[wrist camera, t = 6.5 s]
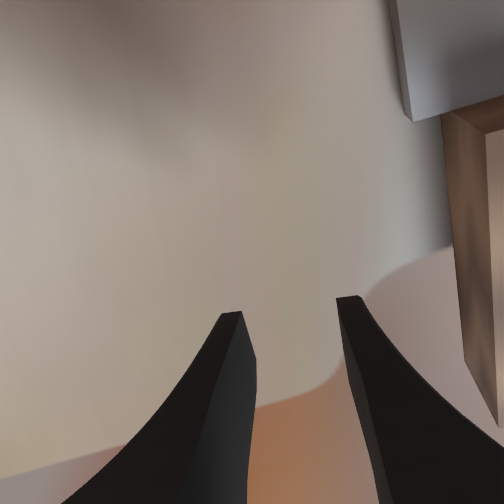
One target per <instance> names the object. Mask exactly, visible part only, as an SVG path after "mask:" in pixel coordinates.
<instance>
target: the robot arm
mask: <svg viewBox="0 0 504 504" xmlns="http://www.w3.org/2000/svg"><path fill="white" fill-rule="evenodd" d="M336 302H337V309H338V316H339V323H340V330H341V336H342V343H343V350H344V356H345V362H346V368H347V373H348V379H349V384H350V387H351V391H352V395H353V398H354V402H355V406H356V409H357V412H358V416H359V420H360V424H361V427H362V431H363V434H364V438H365V441H366V445H367V449H368V452H369V456H370V460H371V464H372V469H373V473H374V478H375V484H376V489H377V494H378V500H379V504H504V447H503V446H501V445H500V444H498V443H497V442H496V441H495V440H493V439H492V438H491V437H490V436H488V435H487V434H486V433H485V432H483V431H482V430H481V429H480V428H478V427H477V426H476V425H475V424H473V423H472V422H471V421H470V420H468V419H467V418H466V417H465V416H463V415H462V414H461V413H460V412H459V411H458V410H457V409H455V408H454V407H453V406H452V405H451V404H450V403H449V402H448V401H446V400H445V399H444V398H443V397H442V396H441V395H440V394H439V393H438V392H437V391H436V390H435V389H434V388H433V387H432V386H431V385H429V383H428V382H427V381H426V380H425V379H424V378H422V376H421V375H420V374H419V373H418V372H417V371H416V370H415V369H414V368H413V367H412V366H411V365H410V363H408V361H407V360H406V359H405V358H404V357H403V356H402V355H401V353H400V352H399V351H398V350H397V349H396V347H395V346H394V345H393V344H392V343H391V341H390V340H389V339H388V337H387V336H386V335H385V333H384V332H383V331H382V329H381V328H380V327H379V325H378V324H377V323H376V321H375V320H374V318H373V317H372V315H371V313H370V312H369V310H368V309H367V307H366V305H365V303H364V301H363V299H362V298H361V297H360V296H358V295H356V296H348V297H341V298H336ZM256 392H257V374H256V357H255V354H254V350H253V347H252V344H251V340H250V337H249V334H248V330H247V327H246V324H245V321H244V317H243V314H242V311H237V312H229V313H222V314H221V315H220V317H219V318H218V320H217V322H216V323H215V325H214V327H213V329H212V330H211V332H210V334H209V336H208V337H207V339H206V341H205V342H204V344H203V346H202V347H201V349H200V351H199V352H198V354H197V355H196V357H195V358H194V360H193V362H192V363H191V365H190V366H189V368H188V369H187V371H186V372H185V374H184V375H183V377H182V378H181V379H180V381H179V382H178V384H177V385H176V386H175V388H174V389H173V391H172V392H171V393H170V395H169V396H168V397H167V399H166V400H165V401H164V403H163V404H162V405H161V406H160V408H159V409H158V410H157V411H156V412H155V414H154V415H153V416H152V417H151V418H150V420H149V421H148V422H147V423H146V424H145V425H144V427H143V428H142V429H141V430H140V431H139V432H138V433H137V434H136V435H135V436H134V437H133V438H132V439H131V440H130V441H129V443H128V444H127V445H126V446H125V447H124V448H123V449H122V450H121V451H120V452H119V453H118V454H117V455H116V456H115V457H114V458H113V459H112V460H111V461H110V462H109V463H108V464H106V466H104V467H103V468H102V469H101V470H100V471H99V472H98V473H97V474H96V475H95V476H93V477H92V478H91V479H90V480H89V481H88V482H87V483H86V484H84V485H83V486H82V487H81V488H80V489H79V490H77V491H76V492H75V493H74V494H73V495H72V496H70V497H69V498H68V499H66V500H65V501H64V502H63V503H61V504H247V477H248V464H249V455H250V446H251V437H252V428H253V420H254V411H255V401H256Z"/></svg>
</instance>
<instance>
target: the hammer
mask: <svg viewBox="0 0 504 504" xmlns="http://www.w3.org/2000/svg"><path fill="white" fill-rule="evenodd" d="M388 3H389V10H390V17H391V24H392V31H393V38H394V45H395V52H396V59H397V66H398V73H399V80H400V87H401V94H402V101H403V108H404V114H405V115H406V116H407V117H408V118H409V119H410V120H411V121H412V122H416V121H419V120H422V119H426V118H429V117H432V116H436V115H439V114H440V116H441V126H442V136H443V146H444V156H445V166H446V176H447V186H448V196H449V206H450V216H451V226H452V236H453V249H454V259H455V269H456V280H457V290H458V299H459V309H460V319H461V329H462V340H463V349H464V359H465V363H466V365H467V367H468V369H469V371H470V373H471V375H472V377H473V379H474V381H475V383H476V384H477V386H478V389H479V391H480V392H481V394H482V396H483V398H484V400H485V402H486V404H487V406H488V408H489V410H490V412H491V414H492V416H493V418H494V420H495V422H496V424H497V426H498V428H503V427H504V0H388Z"/></svg>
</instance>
